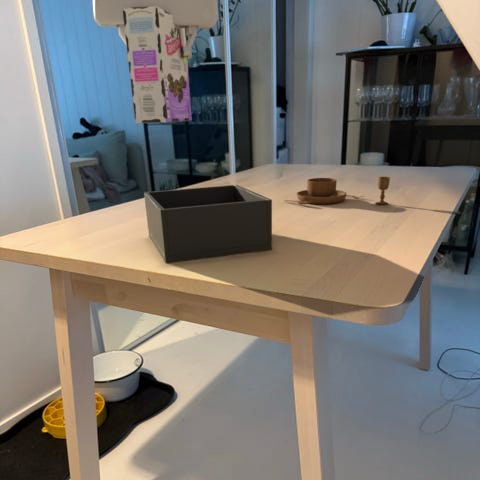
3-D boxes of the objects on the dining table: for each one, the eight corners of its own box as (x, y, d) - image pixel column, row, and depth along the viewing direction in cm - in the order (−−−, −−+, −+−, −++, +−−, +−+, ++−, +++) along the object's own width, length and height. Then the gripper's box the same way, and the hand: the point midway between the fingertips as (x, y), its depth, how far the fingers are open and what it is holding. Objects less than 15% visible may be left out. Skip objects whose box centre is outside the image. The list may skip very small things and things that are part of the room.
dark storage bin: (165, 263, 70) (160, 210, 66) (149, 236, 85) (143, 192, 81) (272, 249, 75) (272, 199, 71) (238, 226, 90) (236, 184, 86)
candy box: (167, 123, 75) (156, 3, 69) (134, 124, 77) (120, 6, 70) (193, 120, 88) (186, 19, 81) (164, 121, 89) (154, 21, 82)
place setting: (330, 192, 121) (331, 169, 118) (392, 203, 106) (395, 177, 103) (278, 201, 112) (278, 176, 110) (337, 214, 97) (339, 185, 94)
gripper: (84, -53, 67) (99, 56, 73) (218, -44, 73) (222, 56, 79) (82, -40, 72) (96, 60, 78) (207, -33, 78) (212, 60, 84)
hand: (160, 58), depth 78 cm, fingers closed on candy box, 8 cm apart
